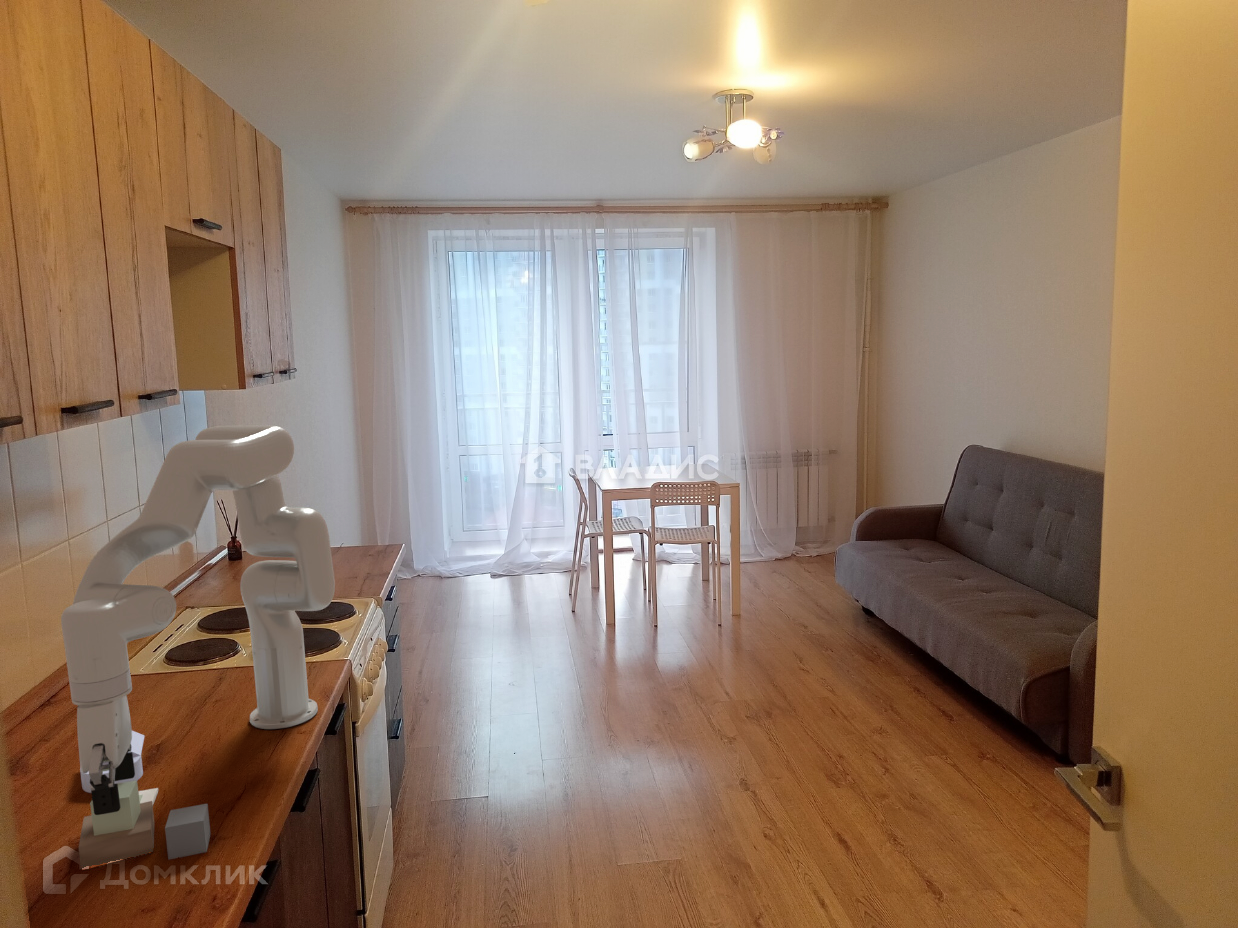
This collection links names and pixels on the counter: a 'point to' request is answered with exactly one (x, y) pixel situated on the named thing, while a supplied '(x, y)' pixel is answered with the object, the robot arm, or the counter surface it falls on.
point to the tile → (148, 795)
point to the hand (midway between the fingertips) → (115, 794)
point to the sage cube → (124, 816)
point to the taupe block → (117, 840)
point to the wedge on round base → (136, 751)
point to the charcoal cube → (187, 831)
